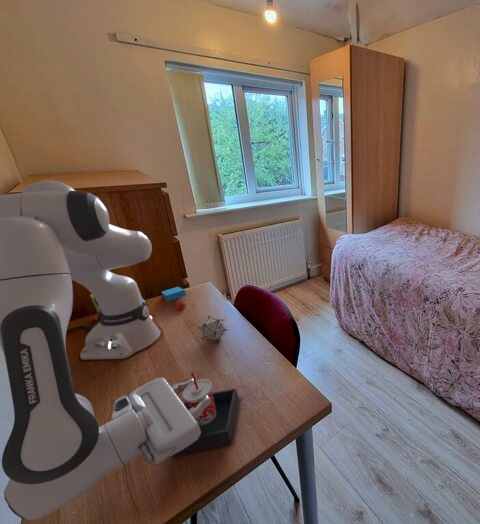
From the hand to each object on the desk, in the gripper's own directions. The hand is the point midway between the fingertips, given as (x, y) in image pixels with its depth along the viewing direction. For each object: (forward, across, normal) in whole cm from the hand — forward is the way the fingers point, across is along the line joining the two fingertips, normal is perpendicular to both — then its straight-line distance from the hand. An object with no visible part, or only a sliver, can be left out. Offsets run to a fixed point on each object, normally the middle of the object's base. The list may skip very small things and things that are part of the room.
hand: (202, 389), depth 66 cm
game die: (+16, +31, +11) cm, 37 cm away
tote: (-1, 0, +11) cm, 11 cm away
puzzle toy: (-2, +77, +11) cm, 78 cm away
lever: (+17, +69, +11) cm, 72 cm away
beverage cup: (-1, 0, +8) cm, 8 cm away
